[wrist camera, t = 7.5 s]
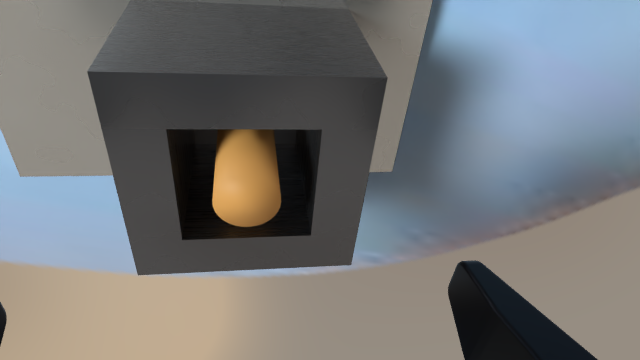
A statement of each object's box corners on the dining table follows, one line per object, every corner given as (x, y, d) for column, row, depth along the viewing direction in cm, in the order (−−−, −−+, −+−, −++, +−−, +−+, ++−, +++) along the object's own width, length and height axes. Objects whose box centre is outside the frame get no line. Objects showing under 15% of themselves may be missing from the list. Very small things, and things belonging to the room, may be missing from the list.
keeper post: (270, 77, 14) (282, 175, 10) (269, 121, 15) (279, 225, 11) (218, 76, 14) (210, 176, 10) (221, 121, 15) (214, 228, 11)
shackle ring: (348, 9, 13) (387, 78, 10) (328, 172, 17) (351, 264, 13) (131, -2, 12) (87, 71, 9) (160, 174, 16) (138, 274, 12)
